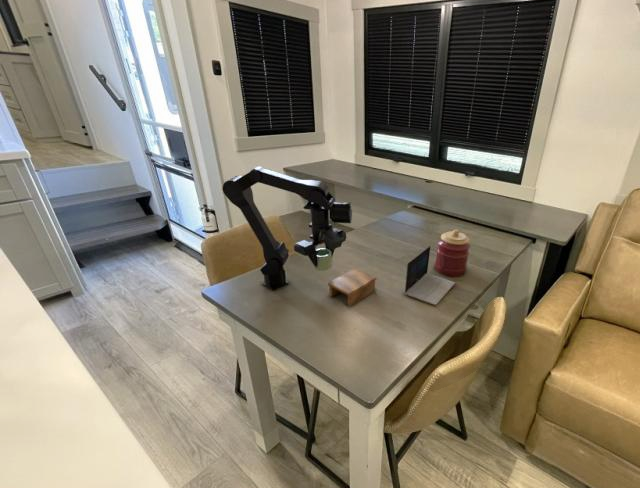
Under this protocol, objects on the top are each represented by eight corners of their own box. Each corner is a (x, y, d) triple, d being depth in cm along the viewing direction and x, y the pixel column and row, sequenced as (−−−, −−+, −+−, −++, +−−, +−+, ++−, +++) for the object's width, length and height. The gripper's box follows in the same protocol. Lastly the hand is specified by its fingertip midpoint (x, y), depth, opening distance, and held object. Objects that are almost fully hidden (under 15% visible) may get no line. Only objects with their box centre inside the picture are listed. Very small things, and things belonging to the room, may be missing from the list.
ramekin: (322, 272, 113) (321, 258, 110) (310, 266, 116) (309, 252, 113) (335, 265, 117) (335, 252, 114) (323, 260, 120) (322, 246, 117)
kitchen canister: (471, 269, 139) (479, 231, 130) (453, 280, 130) (460, 239, 121) (446, 258, 146) (452, 221, 137) (428, 268, 137) (433, 228, 129)
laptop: (435, 306, 114) (440, 274, 107) (404, 294, 119) (406, 263, 113) (455, 284, 128) (460, 254, 121) (426, 274, 133) (429, 245, 126)
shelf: (349, 307, 110) (349, 293, 108) (328, 296, 115) (327, 282, 112) (376, 290, 120) (376, 277, 118) (355, 280, 125) (355, 267, 123)
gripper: (315, 236, 97) (318, 281, 105) (357, 220, 111) (357, 261, 119) (290, 226, 103) (295, 270, 110) (334, 212, 116) (335, 251, 124)
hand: (322, 263), depth 116 cm, fingers closed on ramekin, 6 cm apart
